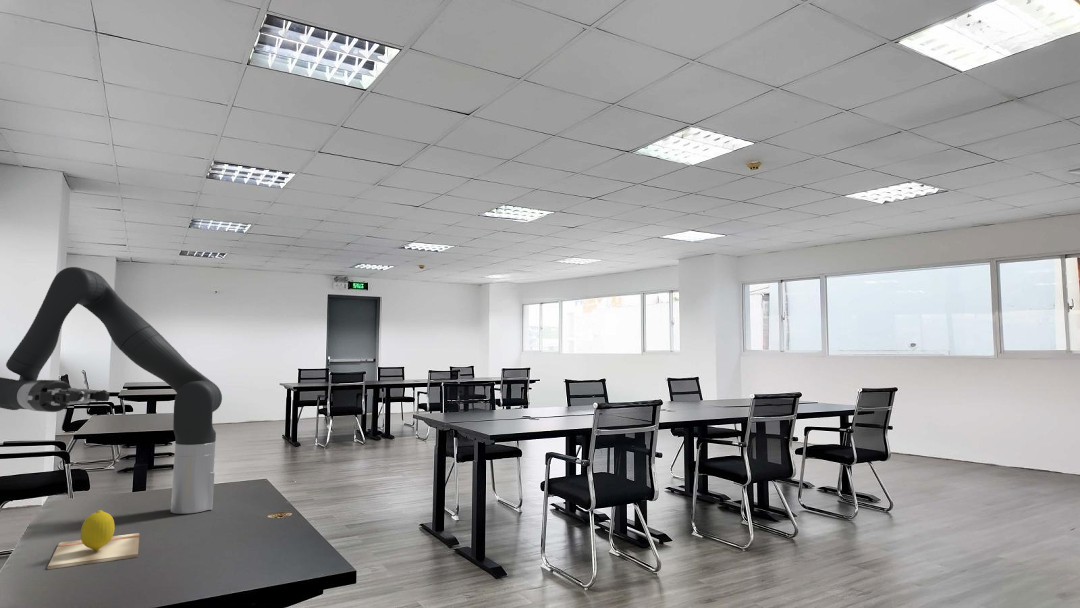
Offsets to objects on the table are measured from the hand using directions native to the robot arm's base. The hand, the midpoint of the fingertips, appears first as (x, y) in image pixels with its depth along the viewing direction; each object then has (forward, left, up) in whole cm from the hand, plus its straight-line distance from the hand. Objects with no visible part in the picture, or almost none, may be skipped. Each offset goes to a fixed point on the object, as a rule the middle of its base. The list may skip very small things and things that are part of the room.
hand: (88, 397), depth 139 cm
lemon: (-5, +21, -30) cm, 37 cm away
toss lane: (-5, +19, -30) cm, 36 cm away
